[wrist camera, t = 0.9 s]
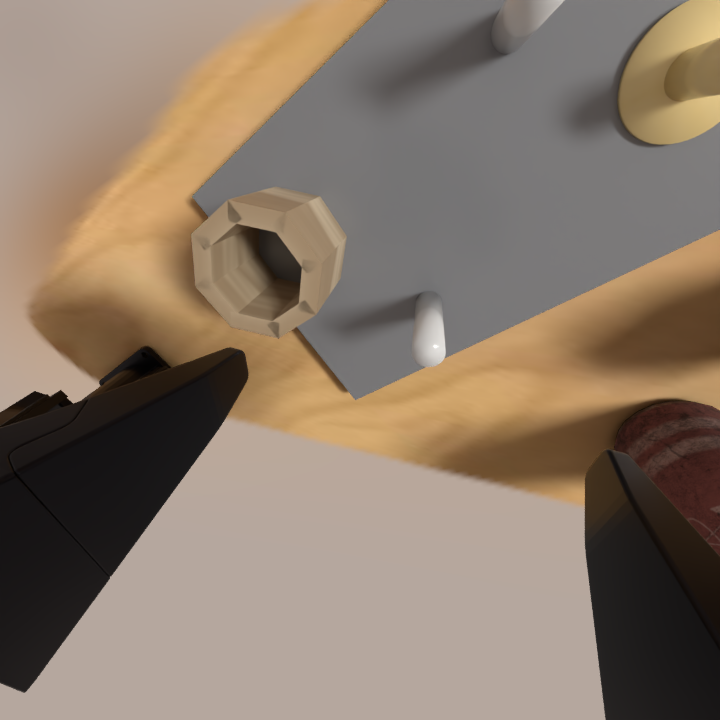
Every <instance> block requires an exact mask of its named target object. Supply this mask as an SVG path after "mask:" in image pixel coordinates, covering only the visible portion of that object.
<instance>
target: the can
mask: <svg viewBox="0 0 720 720" xmlns="http://www.w3.org/2000/svg"><path fill="white" fill-rule="evenodd" d="M614 448H615V451H619V452H623V453H626V454H628V455H629V456H630V457H631V458H632V459H633V460H634V461H635V462H636V464H637V465H638V466H639V467H640V468H641V469H642V470H643V471H644V472H645V474H646V475H647V476H648V477H649V478H650V479H651V480H652V481H653V482H654V483H655V485H656V486H657V487H658V488H659V489H660V490H661V491H662V492H663V493H664V495H665V496H666V497H667V498H668V499H669V500H670V501H671V502H672V503H673V505H674V506H675V507H676V508H677V509H678V510H679V511H680V512H681V513H682V514H683V516H684V517H685V518H686V519H687V520H688V521H689V522H690V523H691V524H692V526H693V527H694V528H695V529H696V530H697V531H698V532H699V533H700V534H701V536H702V537H703V538H704V539H705V540H706V541H707V542H708V543H709V544H710V545H711V547H712V548H713V549H714V550H715V551H716V552H717V553H718V554H719V555H720V411H719V410H718V409H716V408H714V407H713V406H709V405H705V404H700V403H696V402H690V401H668V402H664V403H659V404H655V405H651V406H649V407H647V408H645V409H643V410H640V411H638V412H637V413H635V414H634V415H633V416H631V417H630V418H629V419H627V420H626V421H625V423H624V424H623V425H622V427H621V428H620V429H619V431H618V435H617V438H616V442H615V446H614Z"/></svg>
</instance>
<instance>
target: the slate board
mask: <svg viewBox="0 0 720 720" xmlns="http://www.w3.org/2000/svg"><path fill="white" fill-rule="evenodd" d="M272 187H280V188H284V189H289V190H294V191H298V192H303V193H307V194H312V195H317V196H320V197H321V198H322V200H323V201H324V203H325V204H326V206H327V207H328V209H329V210H330V212H331V213H332V215H333V216H334V218H335V219H336V221H337V222H338V224H339V225H340V227H341V228H342V230H343V231H344V233H345V234H346V236H347V238H346V245H345V251H344V258H343V265H342V271H341V278H340V280H339V281H338V283H337V284H336V286H335V287H334V289H333V290H332V292H331V293H330V295H329V296H328V298H327V299H326V301H325V302H324V304H323V305H322V307H321V308H320V310H319V311H318V313H317V314H316V315H315V316H313V317H312V318H310V319H309V320H307V321H305V322H304V323H302V324H301V325H299V326H298V327H297V328H298V329H299V330H300V332H301V333H302V334H303V335H304V337H305V338H306V339H307V340H308V342H309V343H310V344H311V345H312V347H313V348H314V349H315V350H316V352H317V353H318V354H319V355H320V357H321V358H322V359H323V360H324V362H325V363H326V364H327V365H328V367H329V368H330V369H331V370H332V372H333V373H334V374H335V375H336V377H337V378H338V379H339V380H340V382H341V383H342V384H343V385H344V386H345V388H346V389H347V390H348V391H349V393H350V394H351V395H352V396H353V398H354V399H355V400H357V399H359V398H361V397H363V396H365V395H367V394H369V393H372V392H374V391H376V390H378V389H380V388H382V387H384V386H386V385H389V384H391V383H393V382H395V381H397V380H399V379H401V378H404V377H406V376H408V375H410V374H412V373H414V372H416V371H419V370H421V369H423V368H425V367H433V366H436V365H438V364H440V363H441V362H442V361H443V360H444V358H446V357H448V356H451V355H453V354H455V353H457V352H459V351H461V350H463V349H466V348H468V347H470V346H472V345H474V344H476V343H478V342H481V341H483V340H485V339H487V338H489V337H491V336H493V335H495V334H498V333H500V332H502V331H504V330H506V329H508V328H510V327H513V326H515V325H517V324H519V323H521V322H523V321H525V320H528V319H530V318H532V317H534V316H536V315H538V314H540V313H542V312H545V311H547V310H549V309H551V308H553V307H555V306H557V305H560V304H562V303H564V302H566V301H568V300H570V299H572V298H575V297H577V296H579V295H581V294H583V293H585V292H587V291H590V290H592V289H594V288H596V287H598V286H600V285H602V284H604V283H607V282H609V281H611V280H613V279H615V278H617V277H619V276H622V275H624V274H626V273H628V272H630V271H632V270H634V269H637V268H639V267H641V266H643V265H645V264H647V263H649V262H651V261H654V260H656V259H658V258H660V257H662V256H664V255H666V254H669V253H671V252H673V251H675V250H677V249H679V248H681V247H684V246H686V245H688V244H690V243H692V242H694V241H696V240H699V239H701V238H703V237H705V236H707V235H709V234H711V233H713V232H716V231H718V230H720V0H388V1H387V2H386V3H385V4H384V5H383V6H382V7H381V8H380V9H379V10H378V11H377V12H376V13H375V14H374V15H373V16H372V17H371V18H370V19H369V20H368V21H367V22H366V23H365V24H364V25H363V26H362V27H361V28H360V29H359V30H358V31H357V32H356V33H355V34H354V35H353V36H352V37H351V38H350V39H349V40H348V41H347V42H346V43H345V44H344V45H343V46H342V47H341V48H340V49H339V50H338V51H337V52H336V53H335V54H334V55H333V56H332V57H331V58H330V59H329V60H328V61H327V62H326V63H325V64H324V65H323V66H322V67H321V68H320V69H319V70H318V71H317V72H316V73H315V74H314V75H313V76H312V77H311V78H310V79H309V80H308V81H307V82H306V83H305V84H304V85H303V86H302V87H301V88H300V89H299V90H298V91H297V92H296V93H295V94H294V95H293V96H292V97H291V98H290V99H289V100H288V101H287V102H286V103H285V104H284V105H283V106H282V107H281V108H280V109H279V110H278V111H277V112H276V113H275V114H274V115H273V116H272V117H271V118H270V119H269V120H268V121H267V122H266V123H265V124H264V125H263V126H262V127H261V128H260V129H259V130H258V131H257V132H256V133H255V134H254V135H253V136H252V137H251V138H250V139H249V140H248V141H247V142H246V143H245V144H244V145H243V146H242V147H241V148H240V149H239V150H238V151H237V152H236V153H235V154H234V155H233V156H232V157H231V158H230V159H229V160H228V161H227V162H226V163H225V164H224V165H223V166H222V167H221V168H220V169H219V170H218V171H217V172H216V173H215V174H214V175H213V176H212V177H211V178H210V179H209V180H208V181H207V182H206V183H205V184H204V185H203V186H202V187H201V188H200V189H199V190H198V191H197V192H196V193H195V194H194V195H193V196H192V197H193V198H194V200H195V201H196V202H197V203H198V205H199V206H200V207H201V208H202V210H203V211H204V212H205V213H206V215H207V216H208V217H210V216H211V215H212V214H213V213H214V212H215V211H216V210H217V209H219V208H220V207H221V206H222V205H223V204H224V203H225V202H226V201H227V200H229V199H232V198H236V197H240V196H243V195H247V194H251V193H254V192H258V191H261V190H265V189H269V188H272ZM259 255H260V256H261V257H262V258H263V260H264V261H265V262H266V264H267V265H268V266H269V267H270V269H271V270H272V271H273V273H274V274H275V275H276V276H277V278H280V279H284V280H289V281H293V282H298V283H301V273H302V267H301V265H300V264H299V263H298V261H297V260H296V258H295V257H294V256H293V254H292V253H291V252H290V250H289V249H288V248H287V246H286V245H285V244H284V242H283V241H282V240H281V238H280V237H279V236H278V234H277V233H276V232H272V231H268V230H263V229H259Z"/></svg>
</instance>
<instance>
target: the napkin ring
mask: <svg viewBox="0 0 720 720" xmlns="http://www.w3.org/2000/svg"><path fill="white" fill-rule="evenodd" d="M259 229H263V230H268V231H272V232H276V233H277V234H278V236H279V237H280V238H281V240H282V241H283V242H284V244H285V245H286V246H287V248H288V249H289V250H290V252H291V253H292V254H293V256H294V257H295V258H296V260H297V261H298V263H299V264H300V265H301V267H302V273H301V283H298V282H293V281H289V280H284V279H280V278H277V276H276V275H275V274H274V273H273V271H272V270H271V269H270V267H269V266H268V265H267V264H266V262H265V261H264V260H263V258H262V257H261V256H260V255H259ZM346 238H347V236H346V234H345V233H344V231H343V230H342V228H341V227H340V225H339V224H338V222H337V221H336V219H335V218H334V216H333V215H332V213H331V212H330V210H329V209H328V207H327V206H326V204H325V203H324V201H323V200H322V198H321V197H320V196H317V195H312V194H307V193H303V192H298V191H294V190H289V189H284V188H280V187H272V188H269V189H265V190H261V191H258V192H254V193H251V194H247V195H243V196H240V197H236V198H232V199H229V200H227V201H226V202H225V203H224V204H223V205H222V206H221V207H220V208H219V209H217V210H216V211H215V212H214V213H213V214H212V215H211V216H210V217H209V218H208V219H207V220H206V221H204V222H203V223H202V224H201V225H200V226H199V227H198V228H197V229H196V230H195V231H194V232H193V233H192V234H191V240H192V252H193V264H194V277H195V287H196V288H197V289H198V290H199V291H200V293H201V294H202V295H203V296H204V297H205V298H206V299H207V300H208V302H209V303H210V304H211V305H212V306H213V307H214V308H215V309H216V311H217V312H218V313H219V314H220V315H221V316H222V317H223V319H224V320H225V321H226V322H227V323H228V324H229V325H230V326H231V327H233V328H237V329H241V330H245V331H249V332H254V333H258V334H262V335H266V336H270V337H275V338H280V337H282V336H283V335H285V334H286V333H288V332H290V331H291V330H293V329H294V328H296V327H298V326H299V325H301V324H302V323H304V322H305V321H307V320H309V319H310V318H312V317H313V316H315V315H316V314H317V313H318V311H319V310H320V308H321V307H322V305H323V304H324V302H325V301H326V299H327V298H328V296H329V295H330V293H331V292H332V290H333V289H334V287H335V286H336V284H337V283H338V281H339V280H340V278H341V271H342V265H343V258H344V251H345V245H346Z"/></svg>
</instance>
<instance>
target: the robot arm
mask: <svg viewBox="0 0 720 720" xmlns="http://www.w3.org/2000/svg"><path fill="white" fill-rule="evenodd" d="M146 353H147V354H146ZM247 380H248V368H247V362H246V357H245V353H244V352H243V351H242V350H238V349H235V348H226V349H223V350H220V351H217V352H215V353H212V354H209V355H206V356H204V357H201V358H198V359H195V360H193V361H190V362H187V363H184V364H182V365H179V366H176V367H173V368H171V367H170V366H169V365H168V364H167V363H165V362H164V361H163V360H162V359H161V358H160V357H159V356H158V355H157V354H156V353H155V352H154V351H153V350H152V349H151V348H150V347H147V346H144V347H142V348H141V349H140V350H138V351H137V352H136V353H134V354H133V355H132V356H131V357H129V358H128V359H127V360H126V361H124V362H123V363H122V364H120V365H119V366H118V367H117V368H115V369H114V370H113V371H112V372H110V373H109V374H108V375H106V376H105V377H104V378H103V379H101V380H100V381H99V384H100V387H99V388H98V389H96V390H95V391H94V392H92V393H91V394H89V395H88V396H87V397H85V398H84V399H83V400H82V401H79V402H77V403H74V404H73V403H72V402H71V401H69V400H68V399H67V397H68V396H67V395H65V393H64V392H62V391H61V390H60V391H58V392H57V393H55V394H54V395H52V396H48V395H45V394H42V393H39V392H36V391H34V392H33V393H31V394H29V395H28V396H26V397H24V398H23V399H21V400H20V401H18V402H16V403H15V404H13V405H12V406H10V407H8V408H7V409H5V410H4V411H2V412H0V683H1V684H4V685H6V686H9V687H11V688H13V689H16V690H18V691H21V692H23V693H25V692H26V691H27V690H28V689H29V688H30V686H31V685H32V684H33V683H34V681H35V680H36V679H37V677H38V676H39V675H40V673H41V672H42V671H43V669H44V668H45V666H46V665H47V664H48V662H49V661H50V659H51V658H52V657H53V655H54V654H55V653H56V651H57V650H58V649H59V647H60V646H61V645H62V643H63V642H64V641H65V639H66V638H67V636H68V635H69V634H70V632H71V631H72V629H73V628H74V627H75V625H76V624H77V623H78V621H79V620H80V619H81V617H82V616H83V615H84V613H85V612H86V610H87V609H88V608H89V606H90V605H91V604H92V602H93V601H94V600H95V598H96V597H97V595H98V594H99V593H100V591H101V590H102V588H103V587H104V586H105V585H106V583H107V582H108V580H109V579H110V576H112V575H113V573H114V572H115V570H116V569H117V568H118V566H119V565H120V563H121V562H122V561H123V560H124V558H125V557H126V555H127V554H128V553H129V551H130V550H131V549H132V547H133V546H134V544H135V543H136V542H137V540H138V539H139V538H140V536H141V535H142V534H143V532H144V531H145V529H146V528H147V527H148V525H149V524H150V523H151V521H152V520H153V518H154V517H155V516H156V514H157V513H158V512H159V510H160V509H161V507H162V506H163V505H164V503H165V502H166V501H167V499H168V498H169V497H170V495H171V494H172V492H173V491H174V490H175V488H176V487H177V486H178V484H179V483H180V481H181V480H182V479H183V477H184V476H185V475H186V473H187V472H188V471H189V469H190V468H191V466H192V465H193V464H194V462H195V461H196V460H197V458H198V457H199V455H200V454H201V453H202V451H203V450H204V449H205V447H206V446H207V445H208V443H209V442H210V440H211V439H212V438H213V436H214V435H215V433H216V432H217V431H218V429H219V428H220V426H221V425H222V423H223V422H224V420H225V419H226V417H227V415H228V413H229V412H230V410H231V408H232V406H233V405H234V403H235V401H236V400H237V398H238V396H239V394H240V393H241V391H242V389H243V387H244V386H245V384H246V382H247ZM585 549H586V560H587V568H588V576H589V585H590V593H591V602H592V610H593V618H594V627H595V635H596V643H597V651H598V660H599V668H600V677H601V685H602V693H603V702H604V710H605V718H606V720H720V555H719V554H718V553H717V552H716V551H715V550H714V549H713V548H712V547H711V545H710V544H709V543H708V542H707V541H706V540H705V539H704V538H703V537H702V536H701V534H700V533H699V532H698V531H697V530H696V529H695V528H694V527H693V526H692V524H691V523H690V522H689V521H688V520H687V519H686V518H685V517H684V516H683V514H682V513H681V512H680V511H679V510H678V509H677V508H676V507H675V506H674V505H673V503H672V502H671V501H670V500H669V499H668V498H667V497H666V496H665V495H664V493H663V492H662V491H661V490H660V489H659V488H658V487H657V486H656V485H655V483H654V482H653V481H652V480H651V479H650V478H649V477H648V476H647V475H646V474H645V472H644V471H643V470H642V469H641V468H640V467H639V466H638V465H637V464H636V462H635V461H634V460H633V459H632V458H631V457H630V456H629V455H628V454H626V453H623V452H619V451H615V450H612V449H605V450H603V451H602V452H601V453H600V454H599V456H598V457H597V458H596V460H595V461H594V462H593V464H592V465H591V467H590V468H589V469H588V471H587V473H586V477H585Z"/></svg>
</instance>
